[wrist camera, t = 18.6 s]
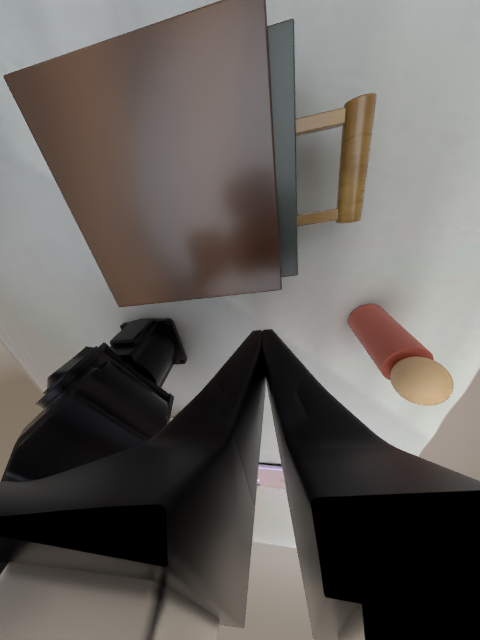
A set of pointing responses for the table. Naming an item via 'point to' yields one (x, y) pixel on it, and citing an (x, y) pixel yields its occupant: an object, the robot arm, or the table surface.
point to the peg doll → (401, 357)
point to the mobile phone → (270, 476)
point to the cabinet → (166, 152)
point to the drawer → (286, 128)
